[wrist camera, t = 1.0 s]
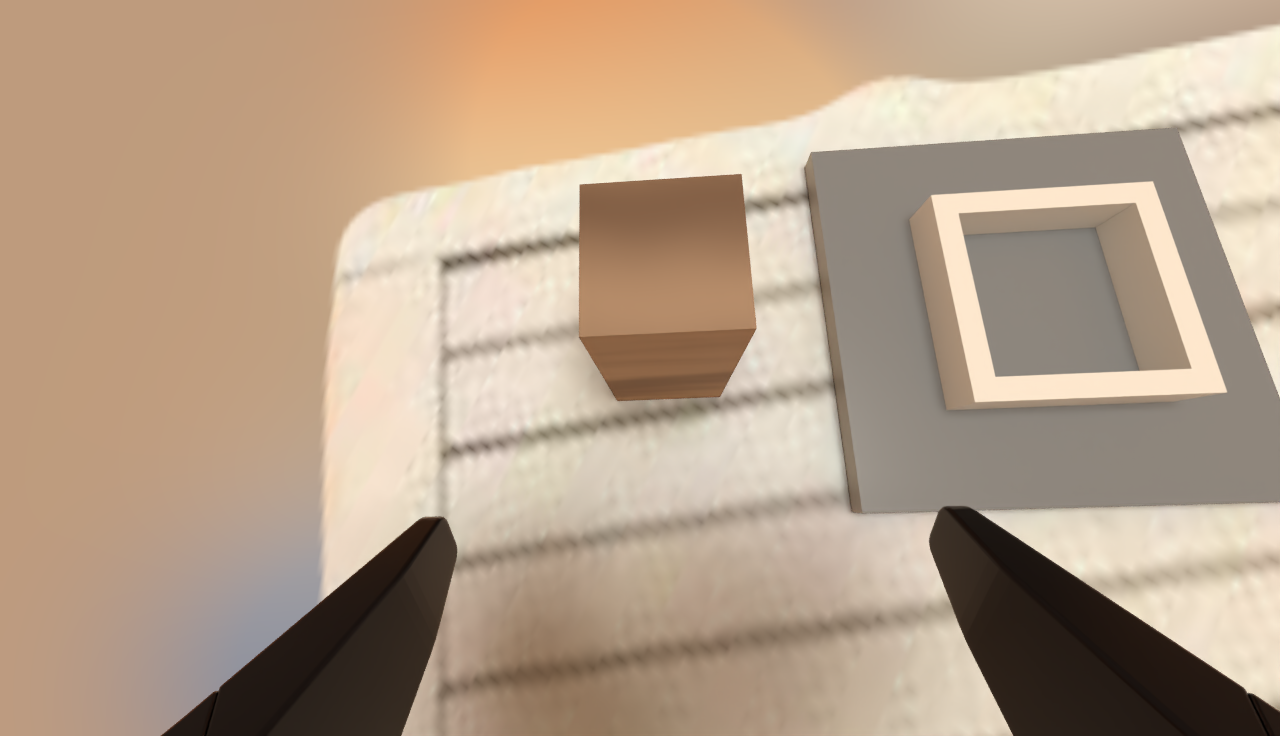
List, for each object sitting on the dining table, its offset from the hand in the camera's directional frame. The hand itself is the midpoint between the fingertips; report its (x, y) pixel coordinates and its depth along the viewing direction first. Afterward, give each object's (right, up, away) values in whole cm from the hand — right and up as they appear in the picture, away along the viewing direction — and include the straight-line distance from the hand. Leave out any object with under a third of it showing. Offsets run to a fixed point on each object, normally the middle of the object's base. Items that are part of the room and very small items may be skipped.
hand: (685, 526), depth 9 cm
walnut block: (0, +4, +15) cm, 15 cm away
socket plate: (+17, +6, +14) cm, 23 cm away
